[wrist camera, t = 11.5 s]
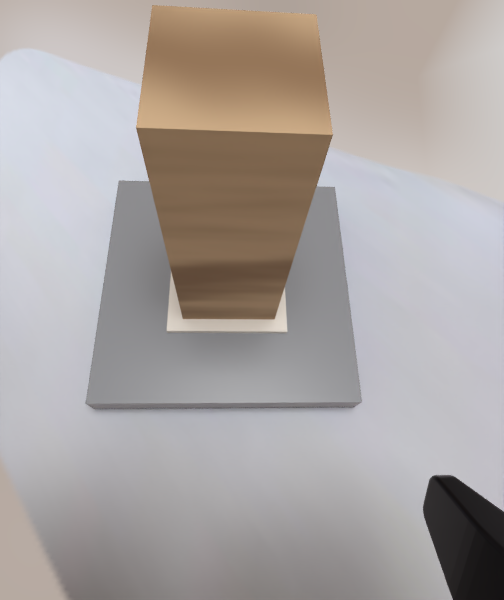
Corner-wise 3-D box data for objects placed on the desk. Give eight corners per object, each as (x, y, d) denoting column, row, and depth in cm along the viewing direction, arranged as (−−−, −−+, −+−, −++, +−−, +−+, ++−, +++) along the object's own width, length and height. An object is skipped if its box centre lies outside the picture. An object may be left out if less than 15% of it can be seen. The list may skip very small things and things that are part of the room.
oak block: (274, 319, 22) (332, 135, 10) (183, 319, 22) (136, 127, 10) (270, 241, 24) (316, 14, 13) (187, 240, 24) (152, 4, 12)
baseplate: (353, 407, 22) (364, 401, 21) (94, 408, 21) (83, 402, 20) (329, 201, 28) (335, 184, 27) (124, 195, 27) (117, 177, 26)
